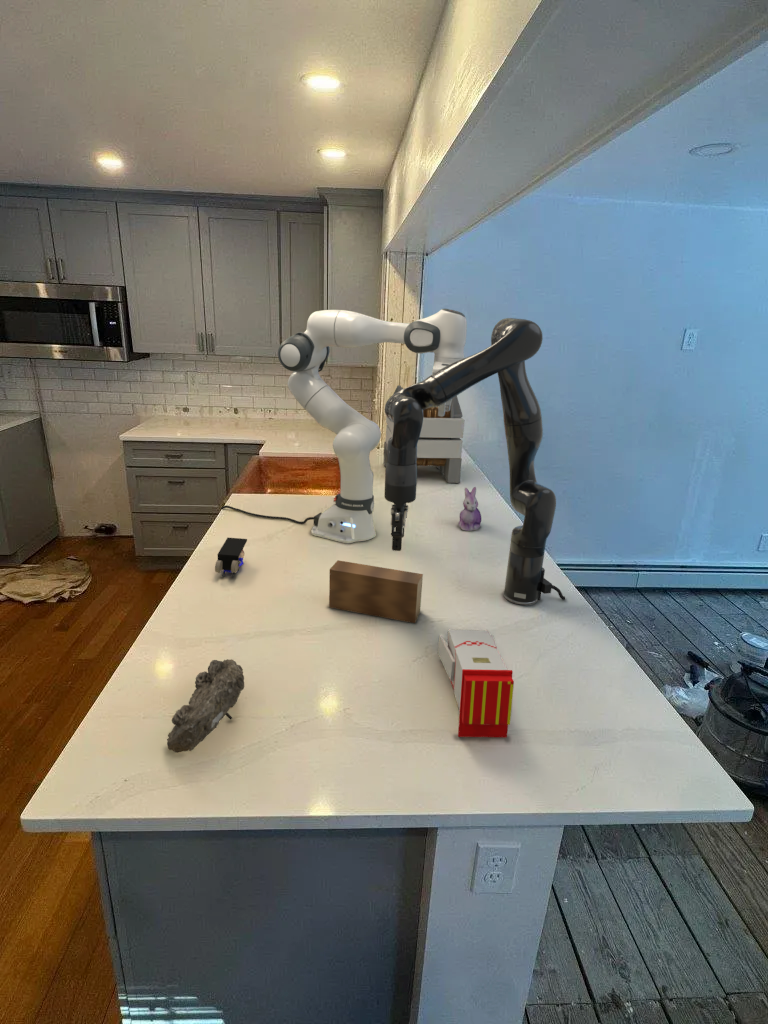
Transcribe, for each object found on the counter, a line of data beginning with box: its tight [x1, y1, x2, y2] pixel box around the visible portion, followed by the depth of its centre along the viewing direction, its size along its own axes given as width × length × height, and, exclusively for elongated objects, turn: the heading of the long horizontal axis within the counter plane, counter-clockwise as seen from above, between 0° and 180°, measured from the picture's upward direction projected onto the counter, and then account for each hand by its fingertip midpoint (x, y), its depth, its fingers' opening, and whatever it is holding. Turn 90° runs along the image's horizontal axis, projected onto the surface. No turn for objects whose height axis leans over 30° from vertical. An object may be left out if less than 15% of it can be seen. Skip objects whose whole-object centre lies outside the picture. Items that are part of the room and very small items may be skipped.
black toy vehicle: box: [214, 537, 248, 578], centre depth 166 cm, size 7×8×15 cm
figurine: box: [458, 486, 482, 532], centre depth 206 cm, size 9×10×15 cm
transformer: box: [383, 384, 465, 484], centre depth 268 cm, size 34×33×41 cm
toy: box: [437, 628, 515, 738], centre depth 117 cm, size 12×13×30 cm
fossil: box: [166, 658, 245, 754], centre depth 106 cm, size 22×10×15 cm
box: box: [328, 560, 424, 624], centre depth 147 cm, size 23×6×11 cm, turn 74°
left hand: (444, 413), depth 173 cm, fingers open, 8 cm apart
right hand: (398, 543), depth 140 cm, fingers open, 8 cm apart
